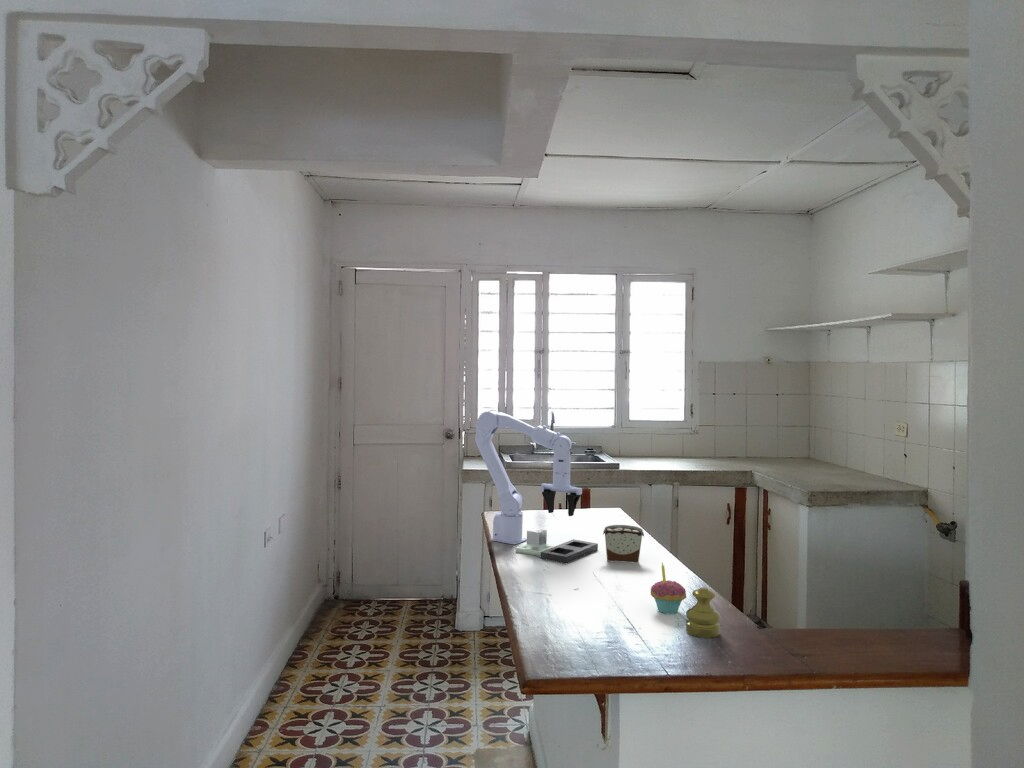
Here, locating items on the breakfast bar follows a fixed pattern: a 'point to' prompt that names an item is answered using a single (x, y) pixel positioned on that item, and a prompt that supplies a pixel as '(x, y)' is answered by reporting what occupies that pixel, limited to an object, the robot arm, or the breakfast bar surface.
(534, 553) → the parts tray
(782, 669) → the breakfast bar surface
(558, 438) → the robot arm
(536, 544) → the grey rectangular block
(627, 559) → the food container
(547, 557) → the dark grey rectangular frame
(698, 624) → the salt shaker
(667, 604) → the cupcake
